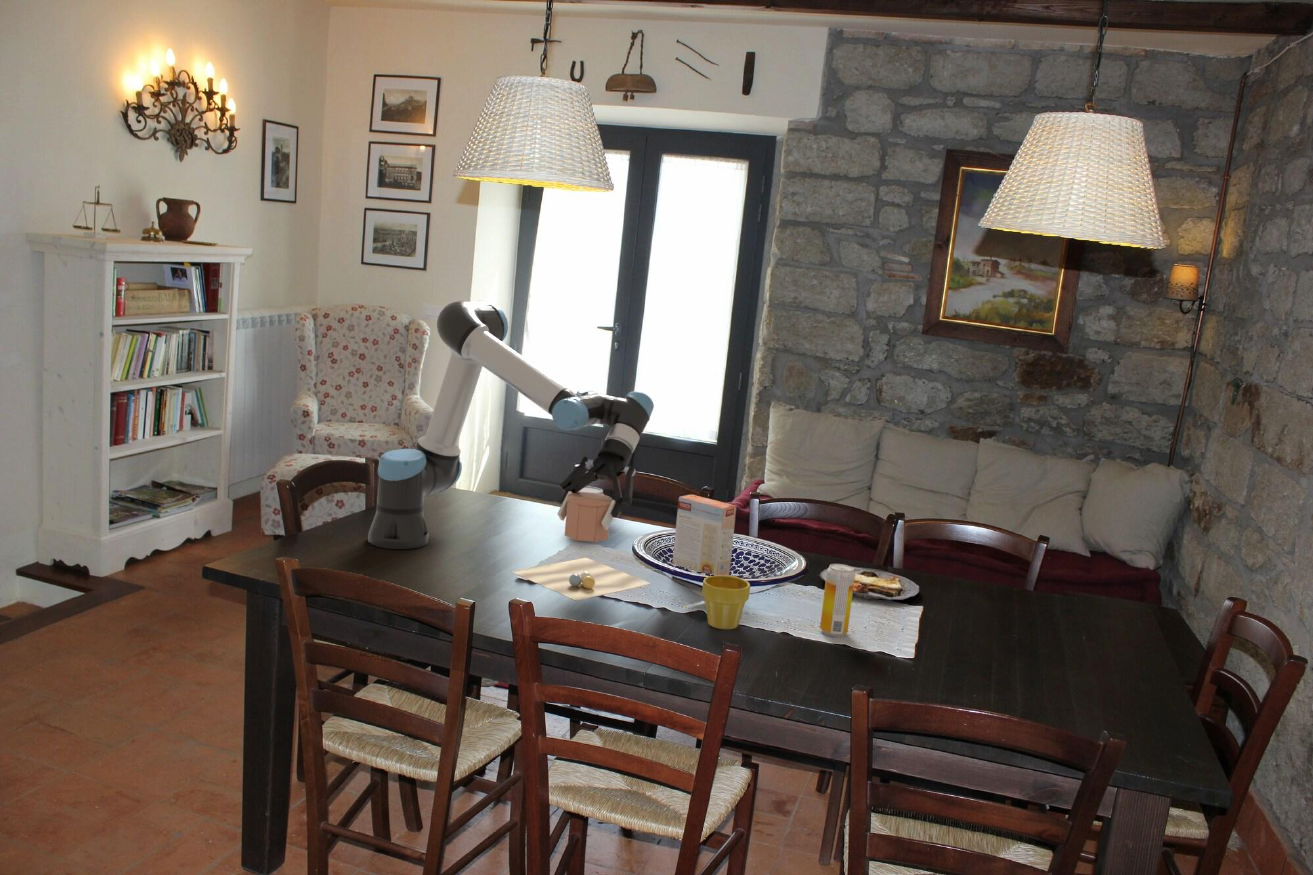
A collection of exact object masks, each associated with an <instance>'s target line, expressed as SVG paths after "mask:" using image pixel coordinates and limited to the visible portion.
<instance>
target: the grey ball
mask: <svg viewBox="0 0 1313 875" xmlns="http://www.w3.org/2000/svg"><path fill="white" fill-rule="evenodd" d="M581 582H582V578H581V576H580V575H579V574H572V575H571V576H570V577H569V583H570V584H571V585H572V586H574V587H576V586H579V585H580V584H581Z"/></svg>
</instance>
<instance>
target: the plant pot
mask: <svg viewBox="0 0 1313 875" xmlns="http://www.w3.org/2000/svg"><path fill="white" fill-rule="evenodd" d="M750 591H751V583H750V582H749V581H748V580H746V579H744V578H741V577H737V576H733V575H729V576H727V575H714V576H708V577H706V578H704V580H703V587H702V592H701V594H702V597H703V598H704V601H705V608H706V617H707V624H708V625H709V626H711V627H712V628H715V629H719V630H733V629H734V630H735V629H736V628H738V627H739V624H740V620H741V617H742V614H743V611H744V607H745V604H746V602H748V600H749V598H750Z"/></svg>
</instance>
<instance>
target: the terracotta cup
mask: <svg viewBox="0 0 1313 875" xmlns="http://www.w3.org/2000/svg"><path fill="white" fill-rule="evenodd" d="M603 494H604V493H603ZM603 494H598V493H590V492H576V493H571V494H569V495H568V496H567V512H566V517H565V526H564V527H565V528H564V536H565V537H567V538H569V539H572V540H575V541H582V542H593V543H596V542H601V541H607V540H609V532H610V527H609V528H608V530H604V528H603V526H602V524H601V523H602V520H603V518H604V516H605V514H606V512H607V510H608V508H609V506H610V504H611V502H612V500H613V498H612V497H611V496H608V495H605V494H604V495H603Z"/></svg>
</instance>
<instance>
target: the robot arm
mask: <svg viewBox="0 0 1313 875" xmlns="http://www.w3.org/2000/svg"><path fill="white" fill-rule="evenodd" d="M436 328H437V329H436V330H437V333H438V335H439V336H438V337H439V338H440V340H442V341H443V343H444V344H445V345H446V346H447V347H448V348H449V350H450V352H451V354H450V358H449V361H448V364H447V367H446V369H445V372H444V377H443V379H442V383H441V385H440V389H439V392H438V396H437V398H436V401H435V405H434V408H433V412H432V415H431V418H430V421H429V424H428V427H427V430H426V434H425V435H423V436H421V437H418V440H417V442H416V446H415V449H414V448H413V449H412V448H400V449H393V450H389V451H386V452H385V453H383V454H382V455H381V456H380V458H379V461H378V467H377V492H376V493H377V494H376V510H375V511H376V512H375V514H374V517H373V521H372V523H371V525H370V528H369V530H368V536H367V537H368V538H367V542H368V543H369V544H370V543H371V544H370V545H371V546H374V545H375V546H374V547H377V548H383V549H387V550H388V549H390V550H410V549H417V548H421V547H425V546H426V545H428V543H429V537H430V536H429V531H428V530H429V529H428V526H427V523H426V520H425V519H426V518H425V516H424V503H425V502H424V501H425V500H424V498H425V497H426V496H429V495H433V494H436V493H442V492H444V491H446V490H448V489H449V488H451V487H453V486H454V485H455V484H456V483H457V482H458V480H459V479H460V476H461V474H462V470H463V469H462V467H463V465H462V464H463V463H462V462H461V458H460V454H461V449H460V447H459V445H458V443H459V440H460V436H461V434H462V431H463V429H464V428H463V427H464V424H465V421H466V418H467V415H468V412H469V409H470V406H471V402H472V399H473V397H474V394H475V391H476V388H477V384H478V381H479V378H480V375H481V373H482V369H483V368H484V369H486V370H488V371H489V372H490V373H492V374H493V375H494V376H496V377H497V378H498V379H500V380H501V381H503V382H504V383H506V384H507V385H508V386H510V387H511V388H512V389H514V390H516V391H517V392H518V393H520V394H521V395H522V396H524V397H525V398H527V399H528V400H530V401H531V402H532V403H533V404H534V405H536V406H538V407H539V408H540V409H542V410H544V411H545V412H547V414H549V415H551V417H552V420H553V422H554V424H555V426H557V428H559V429H561V430H562V431H577V430H580V429H582V428H586V427H589V426H593V425H603V426H607V427H610V429H609V431H608V433H607V435H606V437H605V439H604V441H603V442H602V444H601V447H600V449H599V450H598V451H599V452H598V454H597V457H596V458H594V459H588V457H587V456H584V457H582V459H581V461H580V462H579V463H580V464H579V465H578V466H577V467H575V469H574V470H573V471H572V472H570V473H569V474H568V476H567V477H566V478H565V479H564V480H563V481H562V482H561V483H560V488H561V490H562V492H563V493H564V494H563V495H562V497H561V500H560V504H561V505H560V508H559V509H558V512H557V515H558V517H559V519H560V520H561V521H564V520H566V512H567V496H568V495H569V494H571V493H576V492H579V491H580V490H581V489H583V488H584V487H586V486H588V485H591V483H593V482H596V481H597V480H600V481H601V480H603V481H604V480H605V481H607V482H611V481H612V486H613V491H614V497H615V499H612V502H611V504H610V506H609V508H608V510H607V512H606V514H605V516H604V518H603V520H602V523H601V524H602V526H603V528H604V530H608V528H609V529H610V525H611V523H612V521H613V519H614V518H617V517H618V515H619V514H620V511H621V510H622V507H624V506H627V507H631V506H632V503H633V492H634V480H635V478H636V475H637V471H636V469H635V466H634V465H630V466H628V464H629V462H630V460H631V458H632V456H633V453H634V451H635V450H636V447H637V445H638V443H639V441H640V438H641V437H642V435H643V432H644V431H645V428H646V427H647V425H648V423H649V421H650V419H651V416H652V413H653V410H654V408H655V406H654V405H655V404H654V401H653V399H652V398H651V397H650V396H649V395H648V394H646V393H644V392H641V391H638V390H635V391H630V392H628V393H627V395H626V396H625V397H624V398H623V397H616V396H612V395H608V394H605V393H599V392H597V391H594V390H585V389H580V390H578V391H577V392H576V393H575V392H574V391H572V390H570V389H569V388H568V387H567V386H566V385H563V384H562V383H561V382H559V381H558V380H557V379H555V378H553V377H552V376H551V375H549V374H548V373H547V372H545V371H544V370H542V369H541V367H540V368H539V367H538V365H535V364H534V363H533V362H531V361H529V360H528V359H527V358H525V357H524V356H523V355H522V354H520V353H518V352H517V351H516V350H514V349H513V348H511V347H510V346H508V345H507V344H505V343H504V342H503V341H504V340H505V339H506V338H507V336H508V330H509V322H508V318H507V316H506V314H505V312H504V311H503V310H502V308H501V307H499V306H498V305H497V304H495V303H493V302H489V301H485V300H477V301H473V300H472V301H471V300H470V301H468V300H467V301H466V300H465V301H464V300H460V301H459V300H457V301H453V302H450V303H448V304H447V305H446V306H444V307H443V308H442V310H441V311H440V312H439V314H438V317H437V322H436ZM623 474H625V482H624V483H625V484H624V495H623V494H622V490H621V486H620V479H619V477H620V476H621V475H623Z"/></svg>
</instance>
